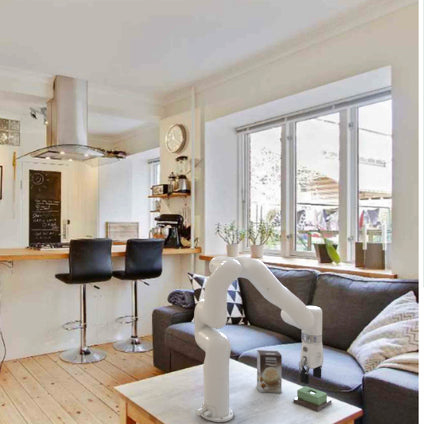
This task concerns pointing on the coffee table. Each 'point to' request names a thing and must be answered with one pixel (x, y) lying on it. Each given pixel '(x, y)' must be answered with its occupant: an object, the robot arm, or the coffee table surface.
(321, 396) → the green block with hole
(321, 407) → the wooden peg base
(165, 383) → the coffee table surface
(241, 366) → the coffee table surface
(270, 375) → the coffee box
